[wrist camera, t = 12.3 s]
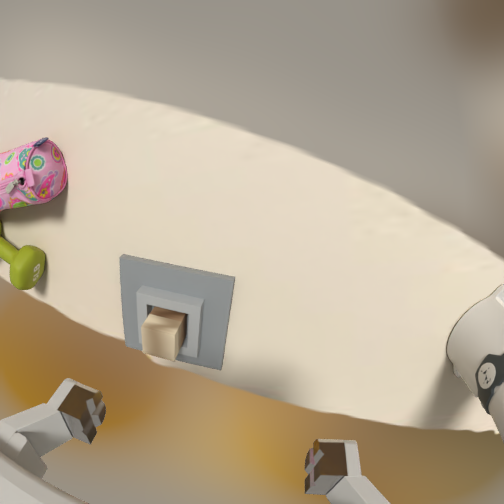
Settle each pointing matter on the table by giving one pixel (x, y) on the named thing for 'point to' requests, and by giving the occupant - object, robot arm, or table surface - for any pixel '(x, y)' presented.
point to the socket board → (178, 305)
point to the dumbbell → (23, 263)
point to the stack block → (164, 333)
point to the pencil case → (31, 174)
